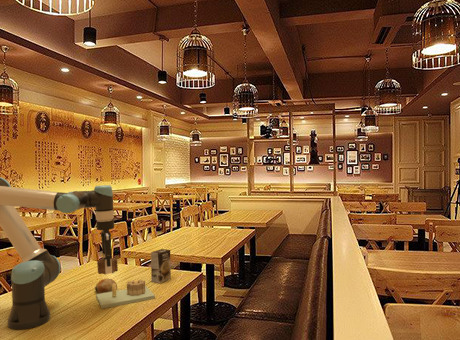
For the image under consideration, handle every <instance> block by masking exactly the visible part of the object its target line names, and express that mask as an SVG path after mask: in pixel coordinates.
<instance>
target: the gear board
mask: <svg viewBox="0 0 460 340" xmlns="http://www.w3.org/2000/svg"><path fill="white" fill-rule="evenodd" d="M133 280H134V284H138V280H139V279H133ZM116 284H117V282H116V283H114V284H112V292H106V293H101V294H99V293H96V294H95V298H96V300H97V302H98V304H99V306H100V308H101V309H102V310H103V309H107V308H113V307H118V306H123V305H128V304H133V303H139V302H144V301H149V300H155V299H156V295H155V294H154V292H152V291H151V289H149V287H148V286H146V285H145V293H144V294H141V295H139V296H137V295H134V296H130V295H127V288H125V289H119V290H118V289H116Z"/></svg>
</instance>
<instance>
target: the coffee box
mask: <svg viewBox="0 0 460 340" xmlns="http://www.w3.org/2000/svg"><path fill="white" fill-rule="evenodd" d="M150 259H151V260H150V264H151V265H150V267H151V269H150V270H151V271H150V272H151V273H150V275H151V278H150V279H151V281H150V282H151V283H157V284H162V283H164V282H167V281H169V280H172V279H171V278H172V276H171V275H172V272H171V271H172V269H171V267H172V266H171V265H172V264H171V249H167V248H165V249H163V248H162V249H161V248H160V249H158V250H154V251H150Z"/></svg>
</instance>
